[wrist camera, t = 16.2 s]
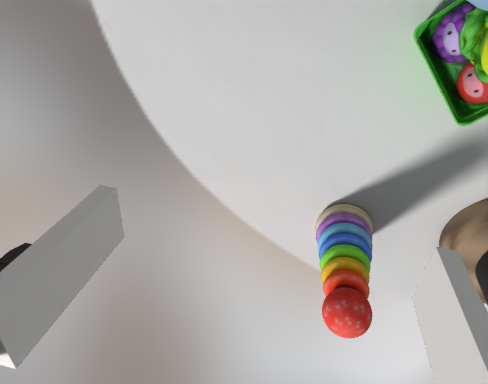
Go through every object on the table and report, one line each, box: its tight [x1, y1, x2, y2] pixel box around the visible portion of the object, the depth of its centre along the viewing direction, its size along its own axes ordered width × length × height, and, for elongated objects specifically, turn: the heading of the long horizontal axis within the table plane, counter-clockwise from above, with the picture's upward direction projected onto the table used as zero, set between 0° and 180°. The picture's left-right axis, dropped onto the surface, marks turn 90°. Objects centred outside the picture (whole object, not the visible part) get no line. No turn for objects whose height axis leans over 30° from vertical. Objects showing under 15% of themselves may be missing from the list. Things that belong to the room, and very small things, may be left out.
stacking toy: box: [316, 204, 373, 338], centre depth 41 cm, size 8×8×19 cm
